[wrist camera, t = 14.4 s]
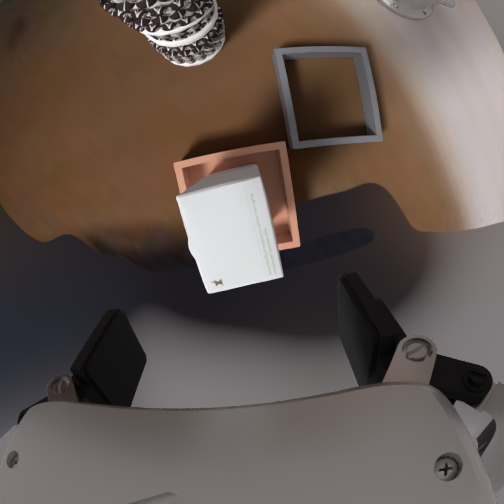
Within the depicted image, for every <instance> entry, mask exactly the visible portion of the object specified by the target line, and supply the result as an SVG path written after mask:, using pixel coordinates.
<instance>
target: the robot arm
mask: <svg viewBox="0 0 504 504" xmlns="http://www.w3.org/2000/svg"><path fill="white" fill-rule="evenodd" d="M379 1H380V2H381V3H382V4H383V5H384V6H386V7H387V8H389V9H390V10H392V11H393V12H395V13H397V14H399V15H401V16H403V17H406V18H409V19H415V20H419V19H424V18H426V17H428V16H429V15H430V14H431V13H432V11H433V4H435V3H437V4H441V3H442V4H444V5H446V6H449V7H454V6H455V1H454V0H379ZM338 333H339V337H340V340H341V342H342V344H343V347H344V349H345V352H346V354H347V357H348V359H349V362H350V364H351V367H352V370H353V372H354V375H355V377H356V380H357V383H358V385H359V386H358V387H354V388H348V389H343V390H339V391H334V392H329V393H324V394H319V395H313V396H308V397H302V398H295V399H290V400H283V401H275V402H268V403H259V404H250V405H240V406H227V407H210V408H141V407H131V404H132V400H133V398H134V395H135V392H136V389H137V386H138V383H139V381H140V378H141V375H142V372H143V369H144V367H145V364H146V360H147V359H146V354H145V352H144V351H143V349H142V347H141V345H140V343H139V341H138V339H137V337H136V335H135V333H134V331H133V329H132V327H131V325H130V323H129V321H128V319H127V317H126V315H125V313H124V312H122V311H121V310H120V309H111V310H107V311H106V313H105V314H104V316H103V317H102V319H101V320H100V322H99V323H98V325H97V326H96V328H95V329H94V331H93V333H92V334H91V335H90V337H89V339H88V340H87V342H86V343H85V345H84V346H83V348H82V350H81V351H80V353H79V355H78V356H77V358H76V360H75V361H74V363H73V365H72V366H71V368H70V370H71V372H72V373H73V376H72V377H71V376H70V375H69V374H60V375H58V376H56V377H55V378H53V379H52V380H51V382H50V383H49V385H48V387H47V397H45V398H44V399H42V400H40V401H39V402H37V403H35V404H33V405H32V406H30V407H28V408H26V409H25V410H23V411H22V412H21V413H20V415H19V418H18V426H16V425H15V426H14V427H12V428H11V430H9V431H8V432H7V433H6V434H5V435H4V436H3V437H2V438H1V439H0V504H497V503H496V499H495V498H496V497H497V496H498V494H499V492H500V491H501V489H502V488H503V486H504V384H502V383H500V382H498V384H495V383H493V379H492V376H491V374H490V372H489V371H488V370H487V369H486V368H485V367H483V366H480V365H477V364H472V363H468V362H465V361H461V360H457V359H453V358H450V357H446V356H442V355H438V354H437V348H436V345H435V343H434V342H433V341H432V340H431V339H429V338H427V337H425V336H422V335H411V336H408V337H407V336H406V334H405V333H404V331H403V330H402V328H401V327H400V325H399V324H398V322H397V321H396V320H395V319H394V317H393V315H392V314H391V312H390V311H389V310H388V308H387V307H386V305H385V304H384V303H383V301H382V300H381V299H375V298H374V297H373V295H372V294H371V292H370V291H369V290H368V288H367V287H366V285H365V284H364V283H363V281H362V280H361V278H360V277H359V276H358V274H357V273H356V272H353V273H348V274H344V275H342V278H341V279H338ZM467 428H468V429H467ZM470 434H472V435H473V436H474V437H475V438H476V440H477V442H478V450H477V448H476V446H475V444H474V441H473V439H472V437H471V435H470ZM436 461H437V462H436Z"/></svg>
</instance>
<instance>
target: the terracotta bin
mask: <svg viewBox="0 0 504 504" xmlns="http://www.w3.org/2000/svg"><path fill="white" fill-rule="evenodd" d="M251 163H257V166H258V169H259V172H260V175H261V178H262V182H263V185H264V188H265V192H266V196H267V199H268V203H269V207H270V212H271V216H272V220H273V225H274V229H275V234H276V239H277V244H278V249H279V250H283V249H288V248H294V247H300V240H299V233H298V224H297V216H296V209H295V201H294V194H293V187H292V181H291V174H290V167H289V161H288V155H287V149H286V143H285V141H279V142H272V143H265V144H259V145H253V146H247V147H242V148H236V149H231V150H226V151H221V152H216V153H211V154H207V155H202V156H198V157H194V158H189V159H185V160H181V161H178V162H175V163H174V168H175V172H176V177H177V181H178V185H179V190H180V194H181V193H183V192H184V191H185V190H187V189H188V188H190V187H191V186H193V185H194V184H196V183H197V182H198V181H200V180H201V179H203V178H204V177H206V176H207V175H209V174H212V173H216V172H220V171H223V170H227V169H231V168H235V167H239V166H243V165H247V164H251Z"/></svg>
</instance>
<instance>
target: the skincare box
mask: <svg viewBox="0 0 504 504" xmlns="http://www.w3.org/2000/svg"><path fill="white" fill-rule="evenodd" d="M176 199H177V202H178V205H179V208H180V212H181V215H182V219H183V222H184V226H185V229H186V232H187V235H188V246H189V249H190V252H191V254H192V255H193V256H194V258H195V259H196V262H197V265H198V268H199V271H200V274H201V276H202V279H203V282H204V284H205V287H206V290H207V292H208V293H214V292H219V291H223V290H228V289H232V288H236V287H240V286H245V285H249V284H253V283H257V282H263V281H267V280H271V279H276V278H280V277H283V271H282V265H281V260H280V254H279V249H278V244H277V239H276V234H275V229H274V225H273V220H272V216H271V212H270V207H269V203H268V199H267V196H266V192H265V188H264V185H263V182H262V178H261V175H260V172H259V169H258V166H257V163H251V164H247V165H243V166H239V167H235V168H231V169H227V170H223V171H220V172H216V173H212V174H209V175H207V176H206V177H204V178H203V179H201V180H200V181H198V182H197V183H196V184H194V185H193V186H191V187H190V188H188V189H187V190H185V191H184V192H183V193H181V194H180V195H178V196H177V197H176Z"/></svg>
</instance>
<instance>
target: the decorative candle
mask: <svg viewBox="0 0 504 504" xmlns="http://www.w3.org/2000/svg"><path fill="white" fill-rule="evenodd" d="M99 1H100V6H101V7H102V8H103V9H104V10H105V11H111V14H112V16H117V17H119V18H121V21H122V22H123V23H125V24H128V25H129V27H131V28H132V27H133V28H134V29H135V30H138V32H141V33H143V34H145V35H146V36H147V37H148V38H147V41H148V42H149V43H150V44H152V46H153V47H155V48H156V50H157V51H158V52H160V53H161V55H163V56H164V57H165V58H166V59H168V60H169V61H171V62H172V63H174V64H175V65H181V66H186V67H189V66H195V65H201V64H203V63H205V62H207V61H209V60H211V59H212V58H213V57H214V56H215V55H216V54H217V53H218V52H219V51H220V50H221V49H222V46H223V44H224V42H225V29H224V27H225V25H224V24H223V23H224V20H223V19H222V16H223V14H222V13H221V11H222V9H221V7H219V6H217V1H216V0H99Z"/></svg>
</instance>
